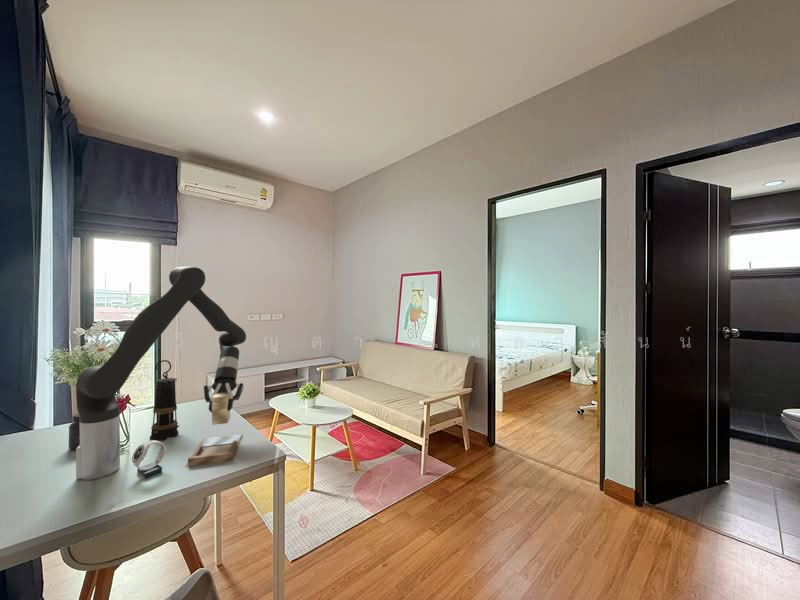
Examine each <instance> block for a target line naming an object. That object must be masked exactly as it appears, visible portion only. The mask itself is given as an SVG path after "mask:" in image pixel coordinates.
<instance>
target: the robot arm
mask: <svg viewBox="0 0 800 600" xmlns="http://www.w3.org/2000/svg"><path fill="white" fill-rule="evenodd" d="M168 279H169V282H170V284H171V287H170V288H169V289H168V291H166V293H164V294H163V295H162V296H161V297H159V298H158V299H156V300H155V301H153V302H152V303H150V304H149V305H148V306H146V307H145V308H143V309H142V311H140V312H139V313H138V315H137V316H136V317H134V319H133V320H132V321H131V322H130V324H128V326H127V328H126V330H125V331H124V334H123V336H122V337H121V341H120V342H119V344H118V347H117V349H116V350H115V351H114V352H113V354H112V355H111V356H110V357H109V358H108V360H106V361H105V362H104V363H103V364H102V365H95V366H90V367H88V368H86V369H85V370H83V371H82V372H81V373H80V374H79V375H78V377H77V379H76V384H75V393H76V396H75V397H76V410H77V414H79V418H80V446H78V447H77V448H76V451H75V479H76V480H79V479H80V480H85V481H88V480H89V481H90V480H91V481H92V480H96V479H100V478H104V477H107V476H109V475H112V474H114V473H115V472H117V470H119V469H120V467H121V451H120V450H121V446H120V445H121V444H120V443H121V441H120V440H121V437H120V436H121V434H120V424H121V423H120V421H121V420H120V419H121V417H120V411H121V410H120V405H119V404H118V401H117V398H116V394H117V393H118V392H119V391H120V390H121V388H123V386H124V385H125V383H126V381H127V380H128V378H129V377H130V375H131V374H132V372H133V370H134V369H135V368H136V366H137V365H138V363H139V362H140V361H141V359H143V357H144V356H145V354H146V353H147V352H148V351H149V350H150V349H151V347H152V346H153V345H154V344H155V342H156V341H157V340H158V339H159V338H160V337H161V336H162V334H163V333H164V332H165V330H166V329H167V328H168V327H169V325H170V324H171V322H173V320H174V319H175V318H176V316H177V315H178V314H179V313H180V312H181V310H183V307H184V306H185V305H186V304H187V303H188V302H190V303H191V304H192V305H193V306H194V307H195V308H196V309H197V310H198V312H200V313H201V315H202V316H203V318H205V320H206V321H207V322H208V323H209V324H210V326H211V327H212V328H213V330H214V331H216V332H218V333H219V332H220V333H221V332H222V333H221V334H220V335H219V337H218V344H219V349H220V350H219V351H220V354H219V360H218V363H217V366H216V369H215V370H216V371H215V375H214V376H215V377H214V381H213V383H212V385H204V386H203V393H204V400H205V402H206V403H209V404H208V411H209V412H210V413H211V414H212V397H213V396H214V394H217V393H227V392H228V393H229V401H228V407H227V410H228V411H230V412H231V410H232V409H233V406H234V401H238V400H240V398H241V395H242V393H243V390H244V388H245V387H244V384H243V382H241V383H237V378H238V377H237V376H238V370H239V358H240V350H239V348H238V347H236V346H237V345H241V344H243V343H245V342H246V340H247V334H246V331H245V330H244V329H243V328H242V327H240V326H239V325H238V324H237V323H235V322H234V321H233V320H232V319H230V317H229V316H228V315H227V313H226V312H225V311H224V310H223V308H221V307H220V305H219V304H218V303H216V302H215V301H214V300H212V299H211V297H210V296H208V295H207V294H206V293H205V292H204V291H203V289H202V288H203V286H204V284H205V283H206V274H205V272H204V270H202V269H201V268H199V267H196V266H178V267H175V268H173V269H171V271H170V272H169V275H168ZM235 389H236V392H235V395H233V391H234V390H235ZM212 390H213V392H212ZM210 392H212V394H211V396H210Z"/></svg>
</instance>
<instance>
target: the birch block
mask: <svg viewBox="0 0 800 600" xmlns="http://www.w3.org/2000/svg"><path fill="white" fill-rule="evenodd" d="M211 397H212V396H211ZM228 401H229V393H228V392H227V393H217V394H214V396H213V397H212V413H211V425H212V426H213V425H224V424H228V423H229V421H230V419H231V410H230V411H228V410H227V407H228Z"/></svg>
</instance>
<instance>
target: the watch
mask: <svg viewBox="0 0 800 600" xmlns="http://www.w3.org/2000/svg"><path fill="white" fill-rule="evenodd" d="M153 444H158V445H159V444H160V450H159V451H158V454H157V456H156V458H155V460H154V461H153V462H150V463H148V464H145V465H142V466H140V464H141V463H142V462H143V460H144V459H145V458H146V456H147V455H148V451H149V448H150V447H151V445H153ZM166 452H167V451H166V446H165V444H164V443H162V441H156V440H148V441H145V442H144V443H142V444H140V445H139V446H138V447H137V448H136V449H135V450H134V452H133V454H132V457H131V461H132V464H133V465H134V466H135V468H136V469H137V475H138V476H139V477H141V478H143V479H144V480H147V479H150V478H152V477H154V476H156V475H159V474H163V466H161V465H159V464H161V462H162V460H163V458H164V456H165V455H166V454H165V453H166Z"/></svg>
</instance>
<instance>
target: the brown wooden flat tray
mask: <svg viewBox="0 0 800 600" xmlns="http://www.w3.org/2000/svg"><path fill="white" fill-rule="evenodd" d="M243 437H244V435H243V434H233V435H226V436H225V435H224V436H217V437H207V438H206V437H205V438H203V439H201V441H200V443H199V444H198V445H197V447H196V448H195V449H194V451H193V453H192V454H191V456H189V457H188V458H187V462H186V464H185V465H184V468H187V467H197V466H201V465H203V466H205V465H212V464H217V463H226V462H233V461H234V459H235V457H236V454H237V452H238V450H239V447H240V444H241V442H242V439H243Z"/></svg>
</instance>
